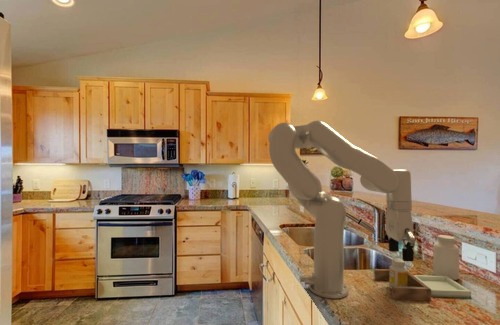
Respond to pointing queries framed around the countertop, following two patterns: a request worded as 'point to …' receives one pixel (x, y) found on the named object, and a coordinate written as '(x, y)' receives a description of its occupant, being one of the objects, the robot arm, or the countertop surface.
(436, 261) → the pill bottle
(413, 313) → the countertop surface
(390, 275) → the supplement bottle
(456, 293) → the tray
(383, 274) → the bay
